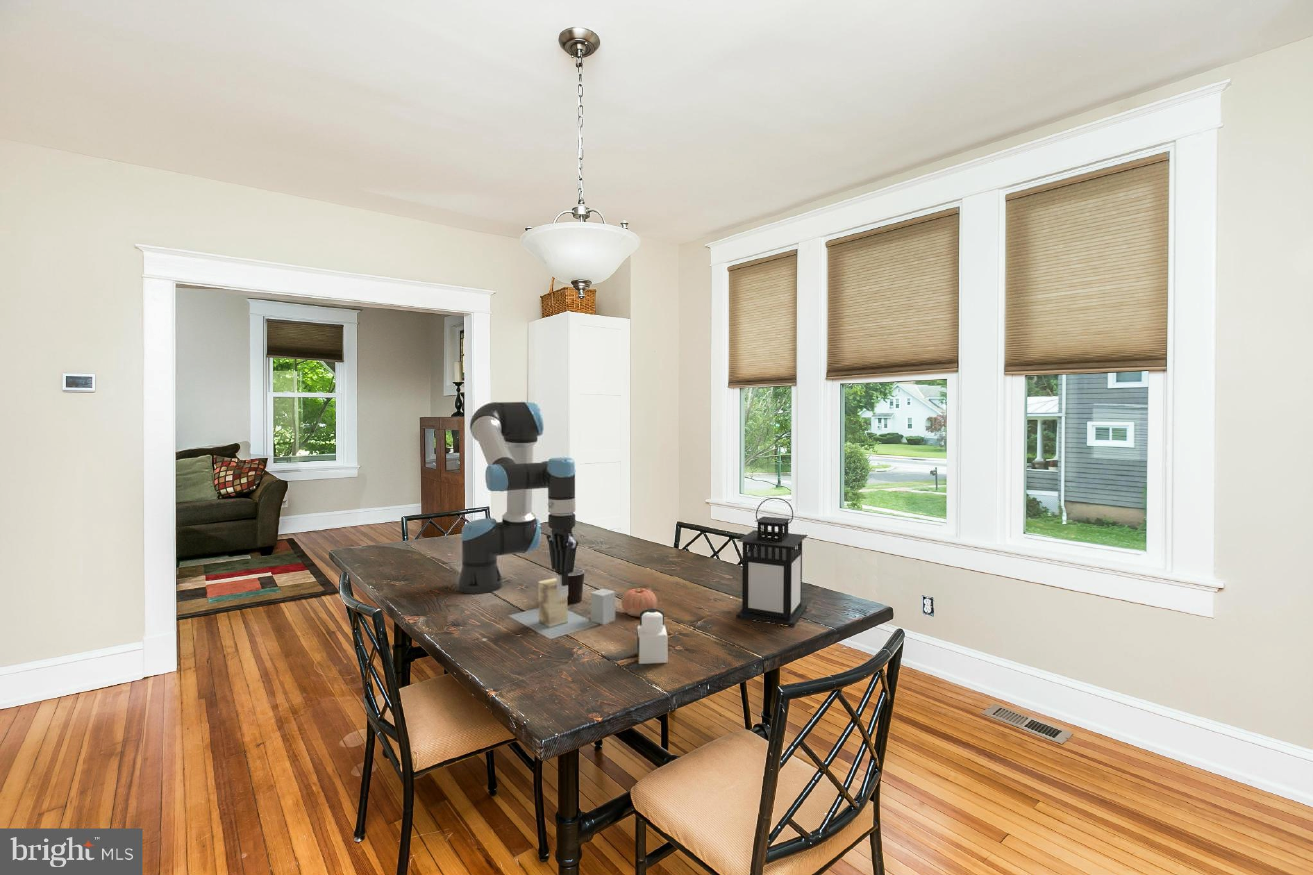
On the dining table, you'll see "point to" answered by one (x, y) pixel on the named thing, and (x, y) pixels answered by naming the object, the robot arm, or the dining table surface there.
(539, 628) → the slate mat
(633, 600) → the orange ribbed round piece
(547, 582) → the birch block
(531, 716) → the dining table surface
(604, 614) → the grey painted block
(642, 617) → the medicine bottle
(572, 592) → the coffee mug
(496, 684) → the dining table surface
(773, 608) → the lantern
